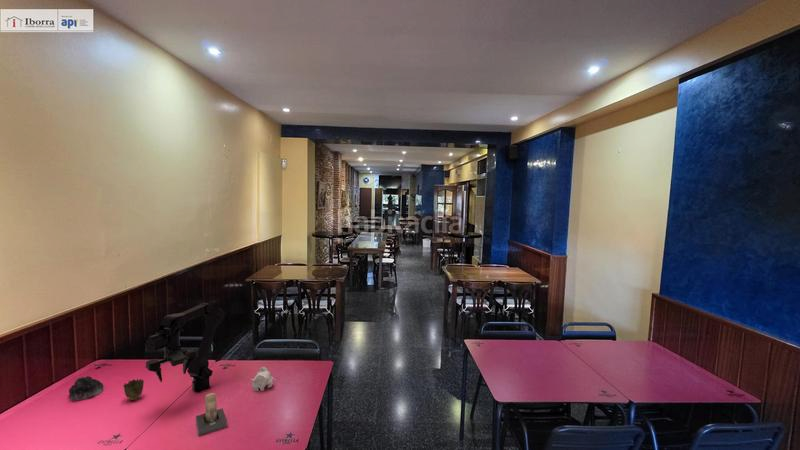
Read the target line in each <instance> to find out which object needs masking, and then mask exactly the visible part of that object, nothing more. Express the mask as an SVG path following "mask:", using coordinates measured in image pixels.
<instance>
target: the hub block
mask: <svg viewBox="0 0 800 450" xmlns="http://www.w3.org/2000/svg"><path fill="white" fill-rule="evenodd" d="M195 424H196V428H197V429H196V430H197V434H198V437H200V436H204V435H207V434H210V433H213V432H216V431H219V430H222V429H225V428H227V427H228V421H227V417H226V414H225V412H224V409H223V407H221V408H218V409H217V420H215V422H213V423H209V422H208V423H206V412H205V413H201V414H198V415H195Z"/></svg>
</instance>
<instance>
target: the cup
mask: <svg viewBox="0 0 800 450" xmlns="http://www.w3.org/2000/svg"><path fill="white" fill-rule="evenodd" d="M144 382H145V380H144V379H141V378H140V379H139V378H137V379H132V380H129V381H128V383H124V384H123V390H124V391H123V392H124V395H125V397H127V398H128V399H129V401H131V402H134V401H137V400H139V399H140V395H142V393H143V390H144Z"/></svg>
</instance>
